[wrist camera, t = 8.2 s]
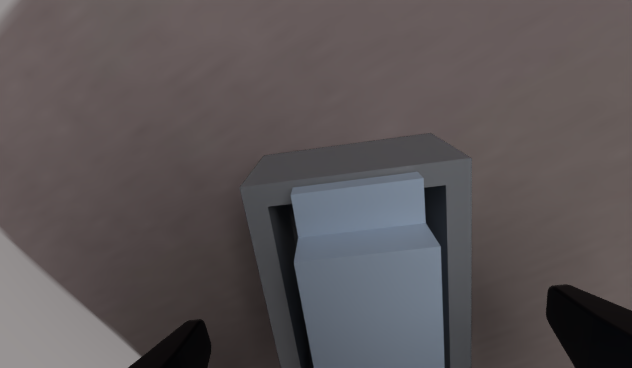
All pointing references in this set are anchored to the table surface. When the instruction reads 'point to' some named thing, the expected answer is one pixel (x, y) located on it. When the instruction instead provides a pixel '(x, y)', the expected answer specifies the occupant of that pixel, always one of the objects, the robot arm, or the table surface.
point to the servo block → (369, 274)
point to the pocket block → (350, 164)
